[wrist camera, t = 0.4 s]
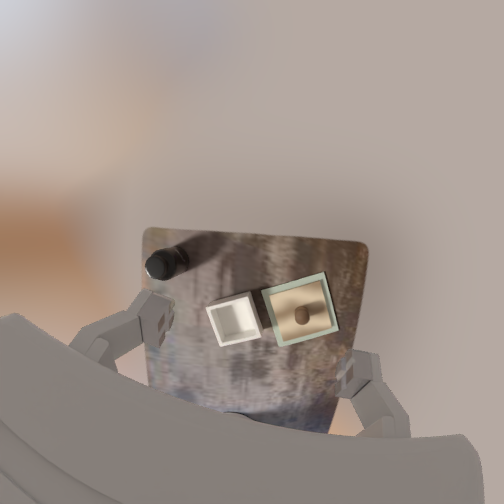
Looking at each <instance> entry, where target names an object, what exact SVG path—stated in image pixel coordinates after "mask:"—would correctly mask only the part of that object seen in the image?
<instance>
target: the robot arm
mask: <svg viewBox="0 0 504 504" xmlns="http://www.w3.org/2000/svg"><path fill="white" fill-rule="evenodd" d="M174 305H175V302H174V299H171V298H169V297H166V296H163V295H161V294H158V293H156V292H153V291H150V290H148V289H145V288H144V289H143V290H141V292H140V293H139V294H138V296H137V297H136V298H135V300H134V301H133V303H132V304H131V305H130V307H129V308H128V309H127V311H124V310H123V311H121V312H118V313H116V314H113V315H111V316H109V317H106V318H104V319H101V320H99V321H97V322H94V323H92V324H89V325H87V326H84V327H82V328H81V330H80V331H79V332H78V334H77V335H76V336H75V338H74V339H73V341H72V342H71V343H70V345H69V346H67V345H65V344H64V343H62V342H60V341H59V340H57V339H56V338H54V337H53V336H51V335H49V334H48V333H46V332H45V331H43V330H42V329H40V328H39V327H37V326H36V325H35V324H33V323H32V322H30V321H29V320H27V319H26V318H25V317H23V316H22V315H20V314H18V313H13V314H8V315H5V316H2V317H0V504H484V485H483V475H482V467H481V462H480V458H479V455H478V452H477V451H476V450H475V448H474V447H473V445H472V444H471V443H470V442H469V440H468V439H467V438H466V437H465V436H464V435H461V434H458V435H457V434H456V435H447V436H436V437H419V438H411V434H410V423H409V416H408V414H407V413H406V411H405V410H404V409H403V407H402V406H401V404H400V403H399V402H398V400H397V399H396V397H395V396H394V394H393V393H392V392H391V390H390V389H389V388H388V386H387V385H386V383H384V382H383V381H382V373H381V365H380V358H379V355H378V354H375V353H369V352H365V351H360V350H354V349H349V350H347V352H346V353H345V357H344V358H341V359H340V361H339V362H338V364H337V367H336V372H335V377H336V379H337V380H338V382H337V383H336V384H335V396H336V397H341V398H348V399H351V402H352V404H353V406H354V408H355V410H356V412H357V414H358V416H359V418H360V420H361V422H362V424H363V426H364V429H365V430H363V431H362V432H360V433H359V434H357V435H356V437H355V436H342V435H333V434H325V433H317V432H310V431H303V430H297V429H291V428H286V427H280V426H275V425H270V424H266V423H261V422H257V421H253V420H251V419H250V418H248V417H246V416H244V415H242V414H238V413H231V412H228V413H222V412H219V411H215V410H212V409H209V408H206V407H203V406H199V405H196V404H193V403H191V402H188V401H185V400H182V399H179V398H176V397H174V396H171V395H168V394H166V393H163V392H161V391H158V390H156V389H153V388H151V387H148V386H146V385H143V384H141V383H139V382H137V381H134V380H132V379H130V378H128V377H126V376H124V375H121V374H119V373H118V370H117V367H116V364H115V361H114V360H115V359H117V358H119V357H120V356H122V355H124V354H126V353H127V352H129V351H131V350H132V349H134V348H135V347H137V346H139V345H140V344H142V343H143V342H144V343H146V344H149V345H152V346H154V347H157V348H160V346H161V344H162V343H163V341H164V339H165V332H167V331H169V330H170V328H171V326H172V323H173V320H174V311H173V307H174Z"/></svg>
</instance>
